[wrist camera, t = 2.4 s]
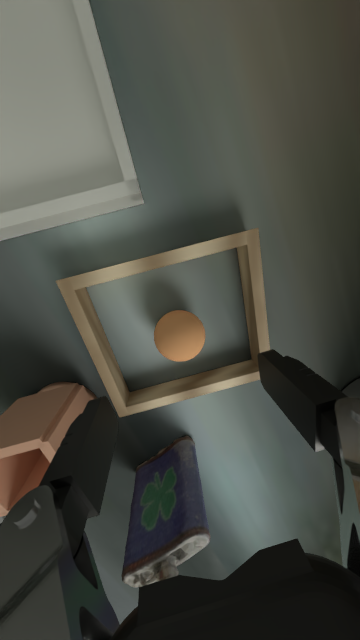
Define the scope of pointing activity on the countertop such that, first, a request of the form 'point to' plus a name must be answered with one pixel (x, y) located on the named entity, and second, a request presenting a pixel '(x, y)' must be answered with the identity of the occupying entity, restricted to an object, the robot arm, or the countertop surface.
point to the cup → (35, 436)
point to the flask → (165, 515)
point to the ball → (179, 335)
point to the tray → (58, 120)
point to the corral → (186, 386)
